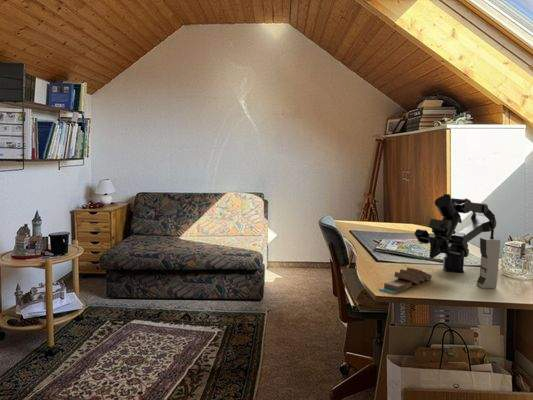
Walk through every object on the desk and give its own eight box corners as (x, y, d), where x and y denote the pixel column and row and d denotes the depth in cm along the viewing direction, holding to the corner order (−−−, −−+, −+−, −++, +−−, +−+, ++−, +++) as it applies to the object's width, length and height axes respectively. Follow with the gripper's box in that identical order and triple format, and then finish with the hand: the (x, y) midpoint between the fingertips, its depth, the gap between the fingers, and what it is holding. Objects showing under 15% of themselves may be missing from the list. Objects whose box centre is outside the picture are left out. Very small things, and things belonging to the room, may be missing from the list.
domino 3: (406, 276, 151) (395, 271, 145) (420, 280, 147) (409, 274, 141) (405, 281, 151) (394, 276, 145) (419, 284, 147) (407, 279, 141)
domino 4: (412, 274, 154) (400, 269, 148) (425, 277, 150) (414, 272, 144) (410, 278, 153) (399, 273, 147) (424, 282, 150) (412, 276, 144)
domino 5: (418, 272, 156) (407, 267, 151) (431, 275, 153) (420, 270, 147) (417, 277, 156) (406, 271, 150) (430, 280, 152) (419, 274, 147)
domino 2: (394, 283, 146) (379, 288, 140) (407, 287, 142) (392, 292, 136) (394, 288, 146) (378, 293, 140) (407, 291, 142) (392, 297, 137)
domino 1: (398, 278, 147) (384, 283, 141) (412, 281, 143) (398, 286, 137) (398, 282, 147) (384, 287, 141) (411, 286, 143) (397, 291, 137)
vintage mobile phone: (476, 285, 148) (481, 213, 145) (489, 285, 148) (495, 213, 146) (482, 288, 144) (488, 215, 142) (496, 288, 145) (502, 215, 142)
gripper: (418, 208, 164) (400, 240, 158) (466, 214, 149) (448, 249, 144) (428, 226, 170) (411, 257, 164) (475, 233, 155) (458, 268, 150)
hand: (430, 257), depth 155 cm, fingers closed
